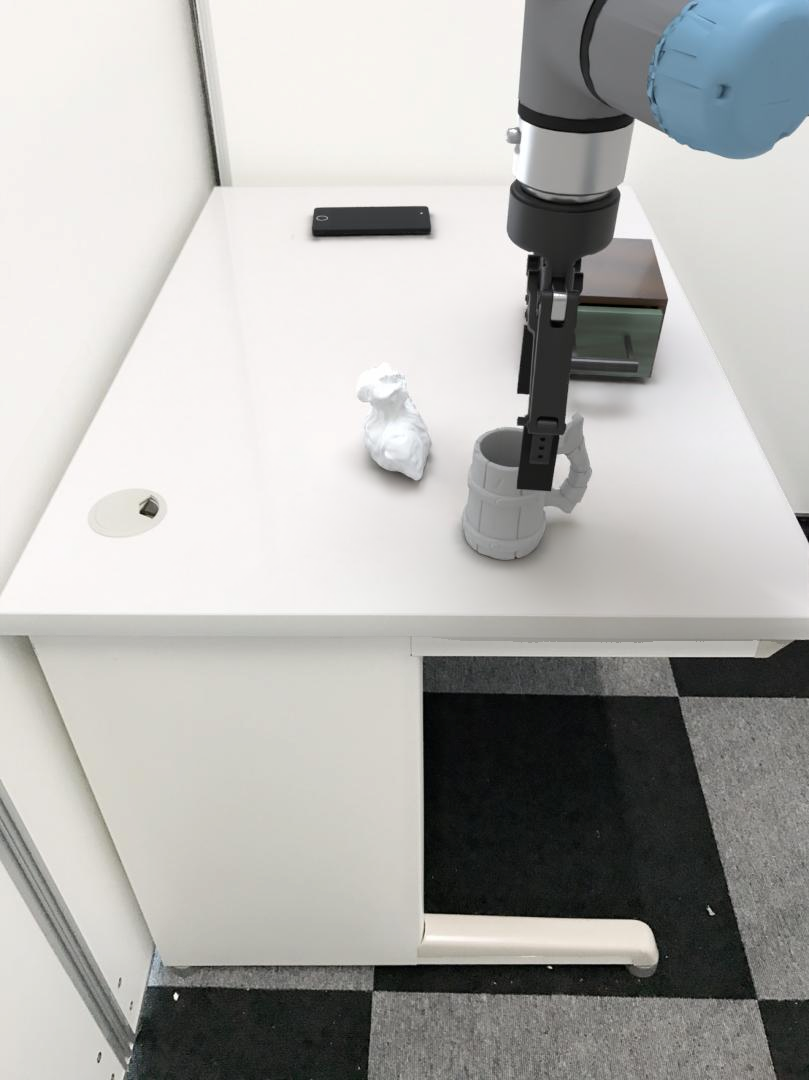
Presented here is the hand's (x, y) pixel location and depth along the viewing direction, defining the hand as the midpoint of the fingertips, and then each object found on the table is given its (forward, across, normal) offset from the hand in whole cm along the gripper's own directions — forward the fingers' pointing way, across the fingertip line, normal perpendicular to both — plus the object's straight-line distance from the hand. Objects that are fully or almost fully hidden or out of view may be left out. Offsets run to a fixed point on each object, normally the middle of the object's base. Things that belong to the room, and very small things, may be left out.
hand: (532, 437), depth 72 cm
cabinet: (+11, -36, +8) cm, 38 cm away
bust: (+11, -10, -13) cm, 19 cm away
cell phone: (+11, -69, -23) cm, 73 cm away
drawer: (+10, -30, +8) cm, 33 cm away
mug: (+11, 0, 0) cm, 11 cm away
